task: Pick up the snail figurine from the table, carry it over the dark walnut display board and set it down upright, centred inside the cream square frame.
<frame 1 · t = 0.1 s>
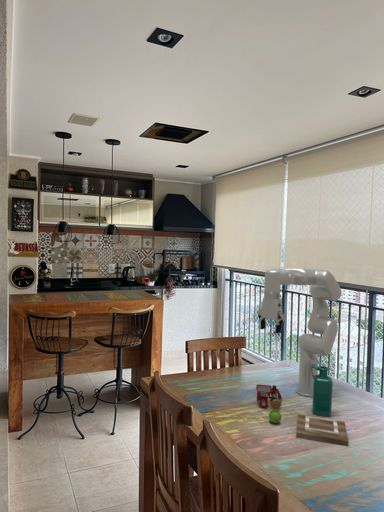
hand: (270, 330, 186), 37 cm above the table, tool pointing down, fingers open, 9 cm apart
teal bottle: (320, 412, 183), on the table
toy fire truck: (268, 406, 188), on the table
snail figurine: (273, 422, 171), on the table
display board: (321, 431, 164), on the table
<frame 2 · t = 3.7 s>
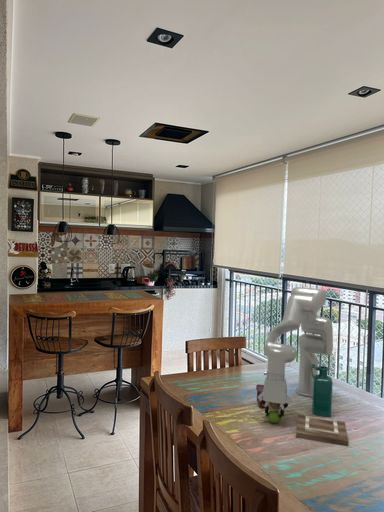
hand: (274, 415, 171), 3 cm above the table, tool pointing down, fingers closed on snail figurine, 5 cm apart
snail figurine: (272, 422, 171), on the table, touching gripper
everything else where it was.
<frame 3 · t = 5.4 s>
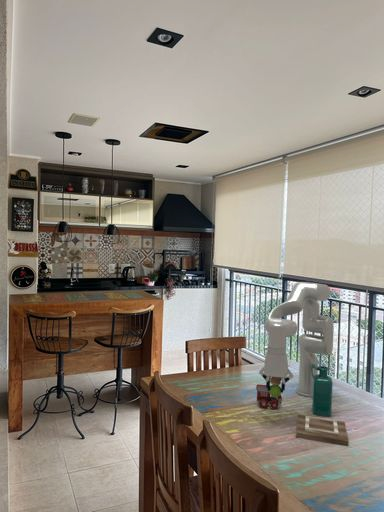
hand: (275, 390, 171), 14 cm above the table, tool pointing down, fingers closed on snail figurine, 5 cm apart
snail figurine: (273, 397, 171), point 11 cm above the table, touching gripper
everything else where it was.
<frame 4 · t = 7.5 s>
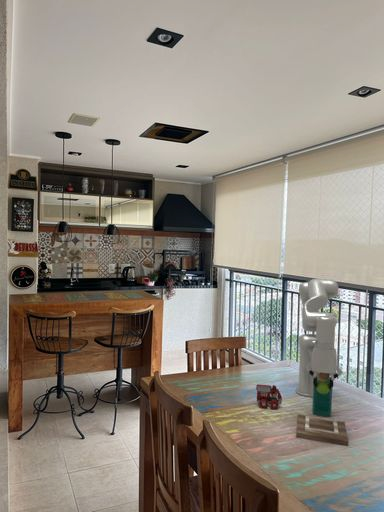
hand: (322, 387, 164), 19 cm above the table, tool pointing down, fingers closed on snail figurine, 5 cm apart
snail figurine: (321, 394, 164), point 16 cm above the table, touching gripper
everything else where it was.
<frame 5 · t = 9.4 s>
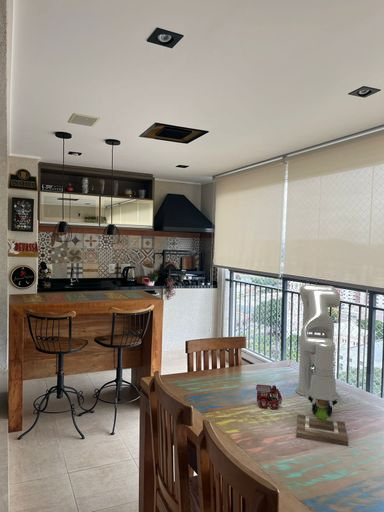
hand: (321, 413, 164), 8 cm above the table, tool pointing down, fingers closed on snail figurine, 5 cm apart
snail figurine: (320, 420, 164), point 5 cm above the table, touching gripper
everything else where it was.
when the fingers open (6 cm above the table, at t = 11.0 s): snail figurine stays where it is, resting on display board.
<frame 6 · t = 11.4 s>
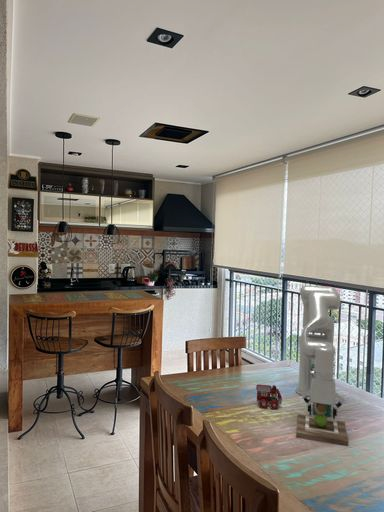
hand: (321, 415, 164), 7 cm above the table, tool pointing down, fingers open, 9 cm apart
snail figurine: (319, 426, 164), point 2 cm above the table, touching display board
everything else where it was.
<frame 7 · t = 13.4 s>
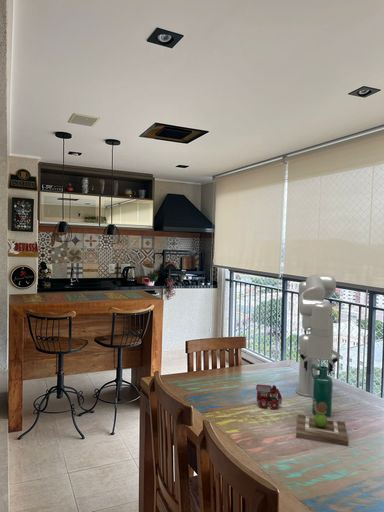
hand: (318, 371, 166), 25 cm above the table, tool pointing down, fingers open, 9 cm apart
nothing on the table moved.
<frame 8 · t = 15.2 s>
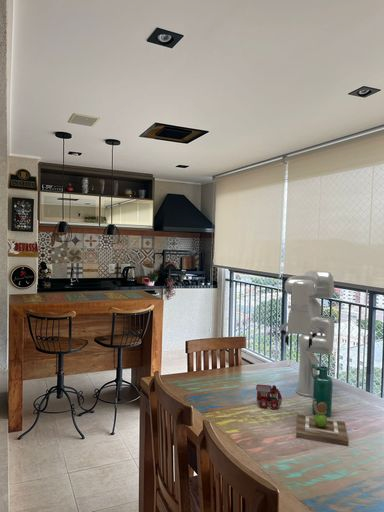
hand: (298, 345, 175), 33 cm above the table, tool pointing down, fingers open, 9 cm apart
nothing on the table moved.
at the end: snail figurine 0.8 cm off-centre on the display board, point 1.8 cm above the display board's base; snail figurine tilted 0°; the gripper is holding nothing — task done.
